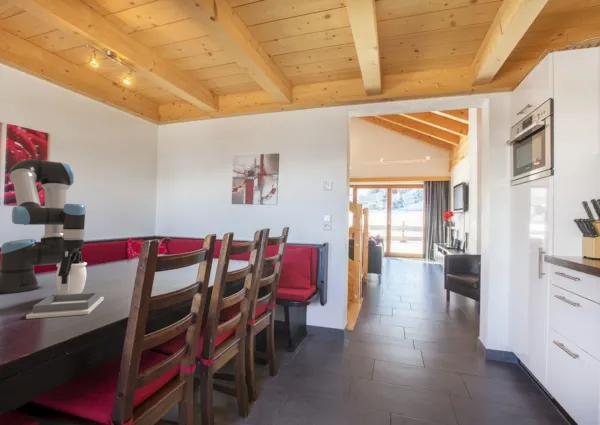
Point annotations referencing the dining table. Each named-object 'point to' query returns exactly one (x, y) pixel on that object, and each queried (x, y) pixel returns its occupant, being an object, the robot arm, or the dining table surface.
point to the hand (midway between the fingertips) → (70, 287)
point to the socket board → (66, 305)
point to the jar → (73, 278)
